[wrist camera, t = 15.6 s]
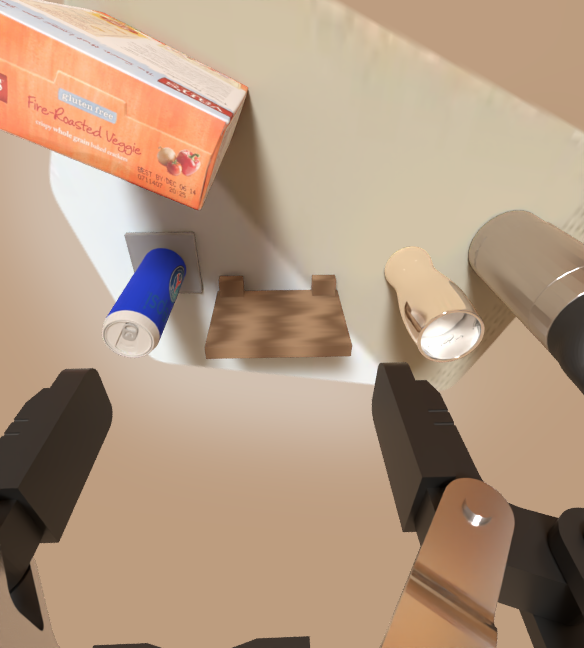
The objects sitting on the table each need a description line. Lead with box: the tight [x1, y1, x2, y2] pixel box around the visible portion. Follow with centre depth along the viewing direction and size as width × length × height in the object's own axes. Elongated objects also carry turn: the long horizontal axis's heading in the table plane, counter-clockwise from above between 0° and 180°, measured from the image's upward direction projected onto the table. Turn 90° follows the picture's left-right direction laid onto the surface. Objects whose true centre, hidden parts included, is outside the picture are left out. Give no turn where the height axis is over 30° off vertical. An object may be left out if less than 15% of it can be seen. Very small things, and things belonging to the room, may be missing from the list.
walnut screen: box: [205, 275, 352, 359], centre depth 46 cm, size 16×6×12 cm, turn 89°
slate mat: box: [125, 232, 203, 293], centre depth 47 cm, size 8×8×1 cm
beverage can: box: [102, 248, 186, 358], centre depth 41 cm, size 5×5×15 cm
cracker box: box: [0, 0, 248, 210], centre depth 28 cm, size 14×6×21 cm, turn 65°
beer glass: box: [385, 246, 485, 362], centre depth 43 cm, size 7×7×15 cm
